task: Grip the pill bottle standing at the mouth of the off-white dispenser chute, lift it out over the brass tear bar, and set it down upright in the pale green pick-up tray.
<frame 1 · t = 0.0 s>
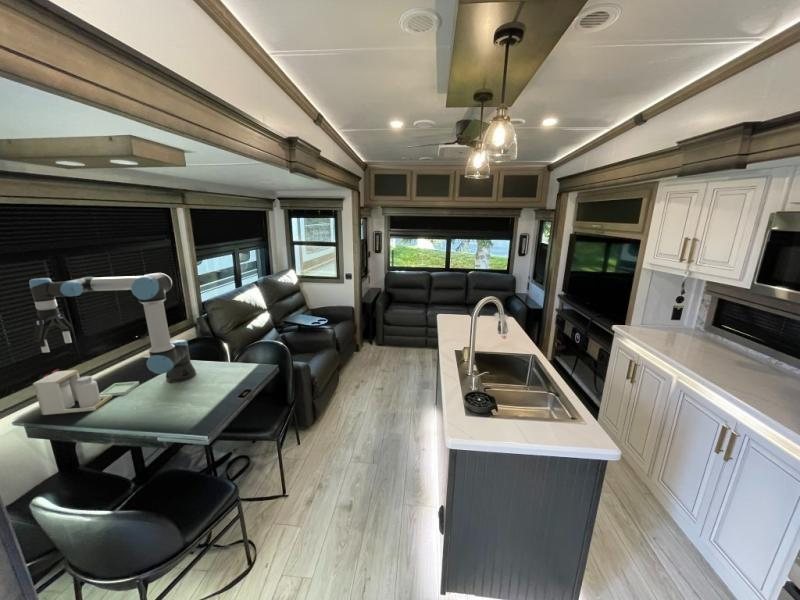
hand: (57, 347, 167), 28 cm above the table, fingers open, 13 cm apart
pill bottle: (91, 404, 164), on the table
dispenser: (91, 404, 164), on the table
tray: (120, 390, 178), on the table
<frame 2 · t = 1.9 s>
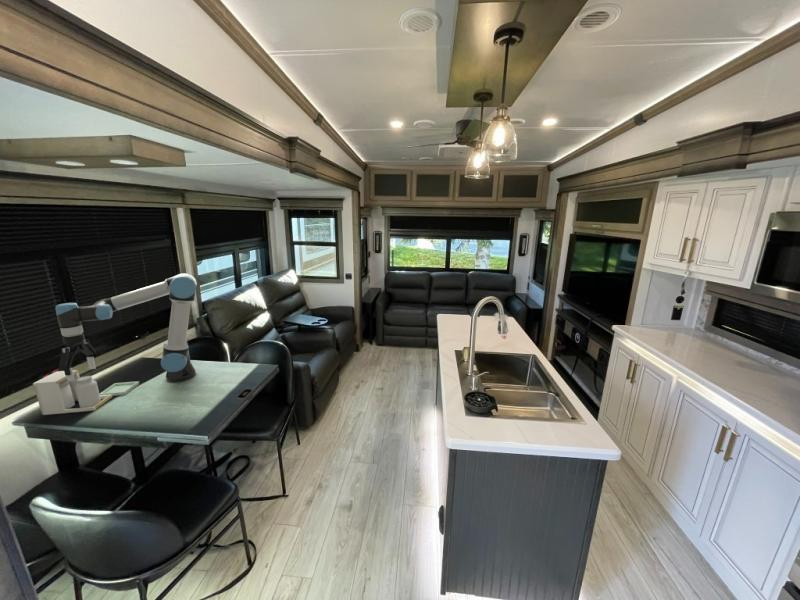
hand: (82, 374, 160), 17 cm above the table, fingers open, 13 cm apart
nothing on the table moved.
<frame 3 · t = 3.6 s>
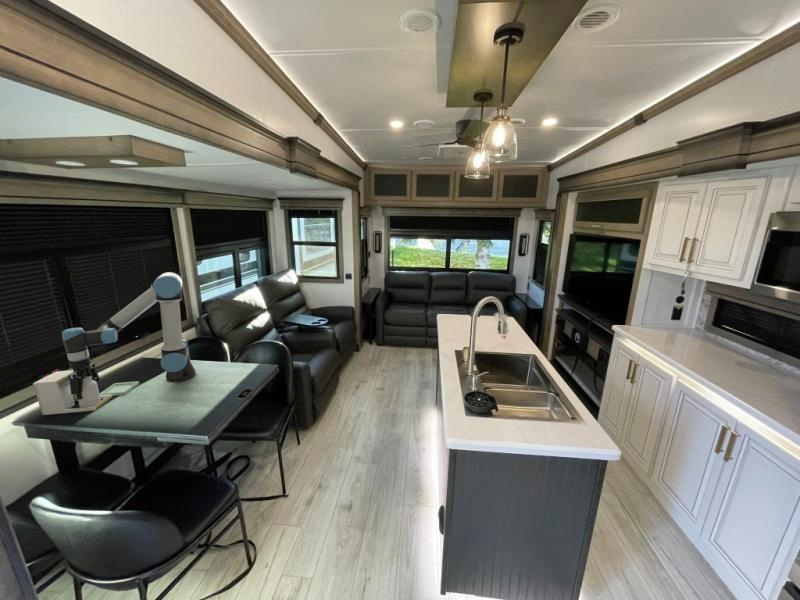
hand: (89, 399, 163), 3 cm above the table, fingers closed on pill bottle, 8 cm apart
pill bottle: (91, 404, 164), on the table, touching gripper
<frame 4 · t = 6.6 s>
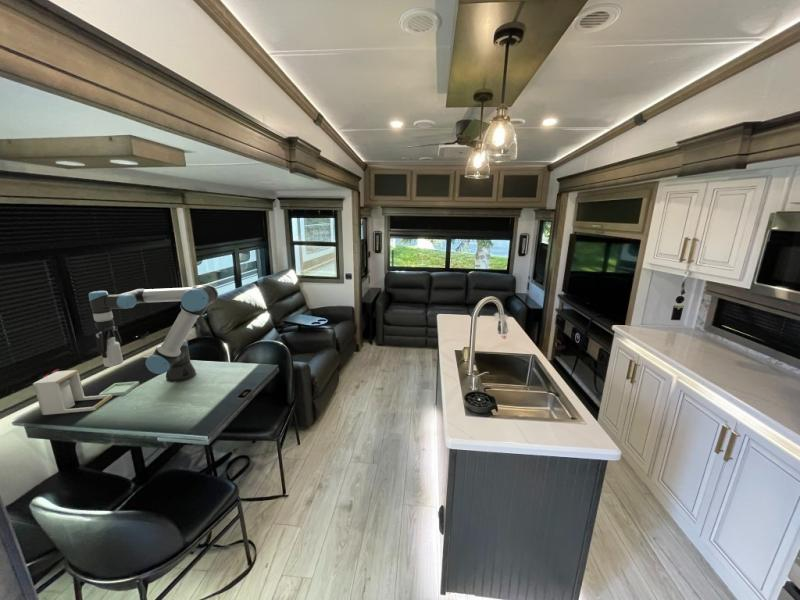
hand: (113, 359, 174), 19 cm above the table, fingers closed on pill bottle, 8 cm apart
pill bottle: (114, 364, 175), point 16 cm above the table, touching gripper
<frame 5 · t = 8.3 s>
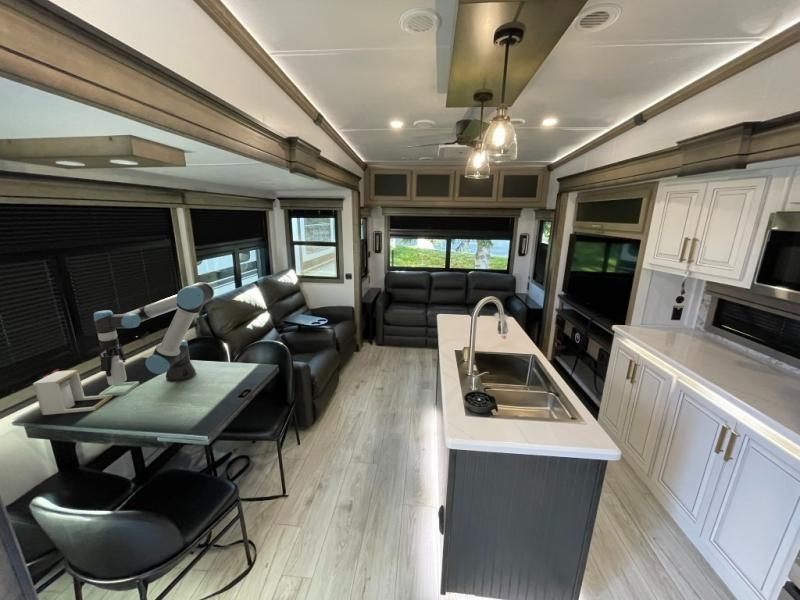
hand: (117, 377, 176), 8 cm above the table, fingers closed on pill bottle, 8 cm apart
pill bottle: (118, 382, 177), point 5 cm above the table, touching gripper
when the fingers open (4 cm above the table, at t = 9.5 s): pill bottle stays where it is, resting on tray.
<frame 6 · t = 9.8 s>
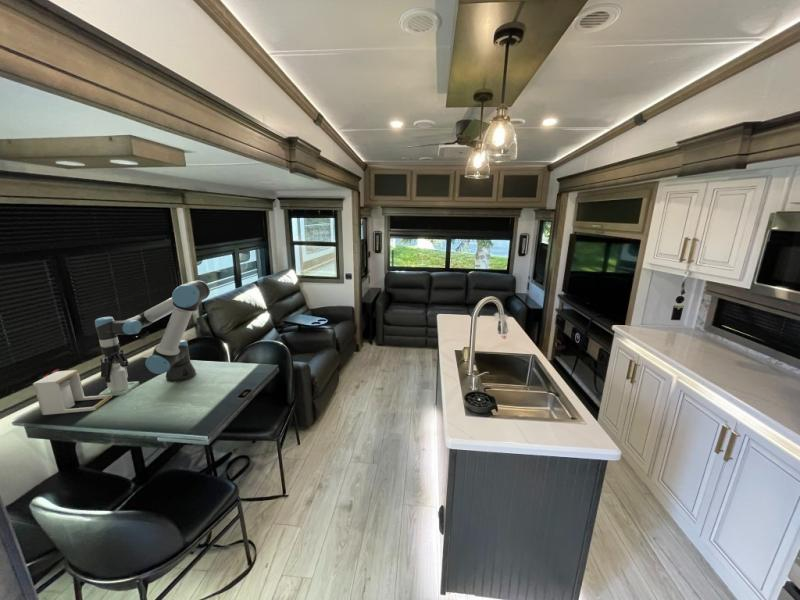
hand: (118, 382, 177), 5 cm above the table, fingers open, 11 cm apart
pill bottle: (120, 389, 178), resting on tray
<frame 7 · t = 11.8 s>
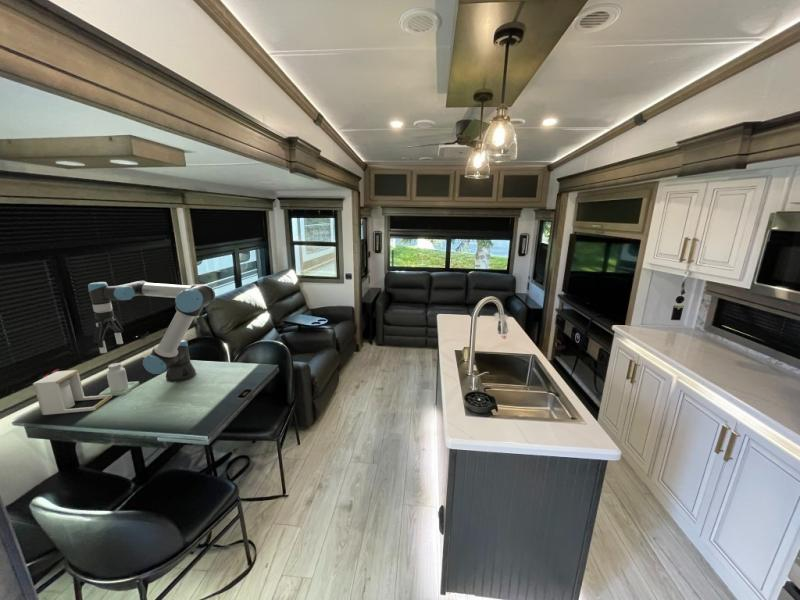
hand: (112, 348, 175), 24 cm above the table, fingers open, 13 cm apart
nothing on the table moved.
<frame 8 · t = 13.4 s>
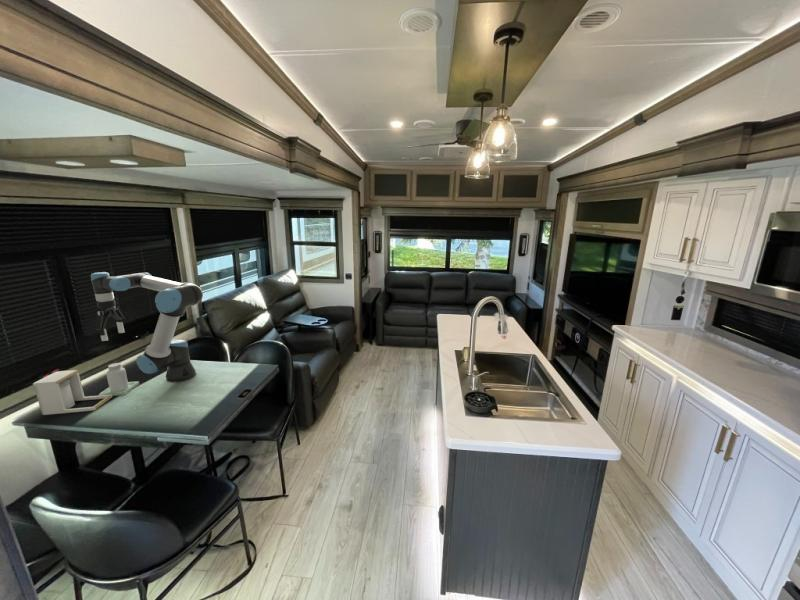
hand: (113, 336, 181), 29 cm above the table, fingers open, 13 cm apart
nothing on the table moved.
at the end: pill bottle inside the target area on the tray (0.1 cm from its centre), point 0.3 cm above the tray's base; pill bottle tilted 0°; the gripper is holding nothing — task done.
